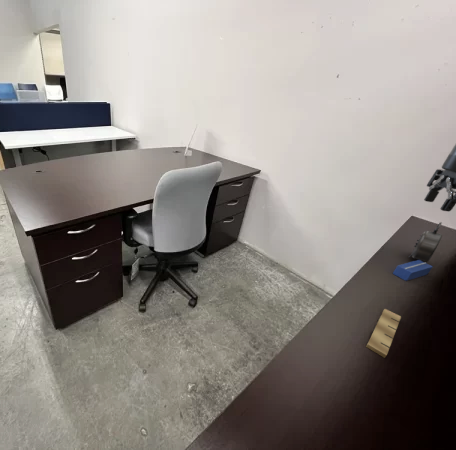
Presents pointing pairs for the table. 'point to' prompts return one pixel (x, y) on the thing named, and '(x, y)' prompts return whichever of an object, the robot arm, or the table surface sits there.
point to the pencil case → (412, 270)
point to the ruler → (384, 333)
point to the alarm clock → (427, 245)
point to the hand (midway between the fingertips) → (436, 205)
